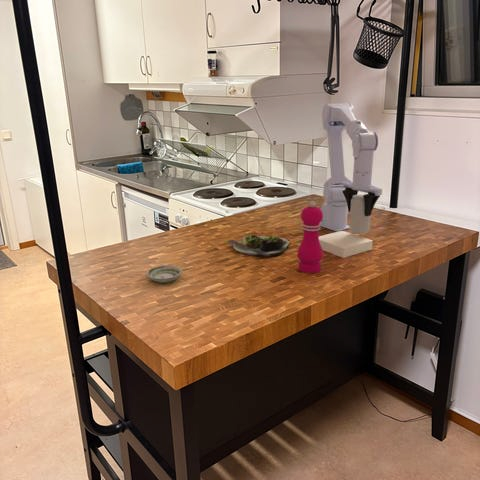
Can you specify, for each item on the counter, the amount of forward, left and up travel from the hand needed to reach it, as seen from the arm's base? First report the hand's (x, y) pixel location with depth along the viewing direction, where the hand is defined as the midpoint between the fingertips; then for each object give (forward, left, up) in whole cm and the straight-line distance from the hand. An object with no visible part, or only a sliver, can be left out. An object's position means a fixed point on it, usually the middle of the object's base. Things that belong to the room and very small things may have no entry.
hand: (359, 213), depth 153 cm
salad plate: (-15, -28, -11) cm, 34 cm away
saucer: (-11, -65, -11) cm, 67 cm away
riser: (0, -7, -10) cm, 12 cm away
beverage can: (0, 0, -6) cm, 7 cm away
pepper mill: (+7, -28, -11) cm, 31 cm away
